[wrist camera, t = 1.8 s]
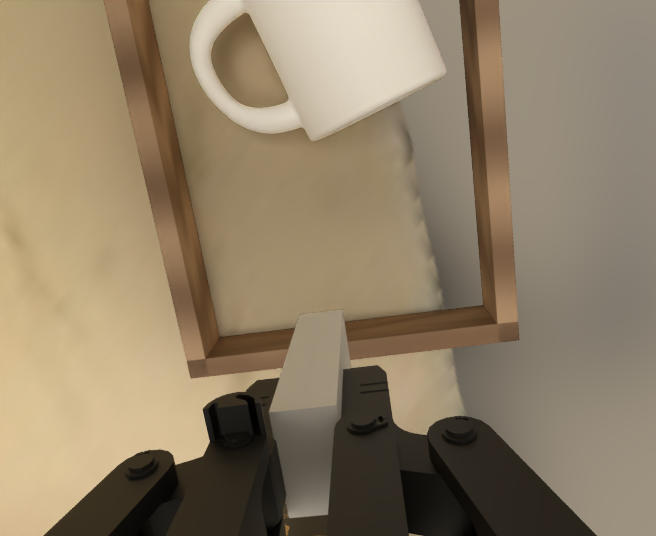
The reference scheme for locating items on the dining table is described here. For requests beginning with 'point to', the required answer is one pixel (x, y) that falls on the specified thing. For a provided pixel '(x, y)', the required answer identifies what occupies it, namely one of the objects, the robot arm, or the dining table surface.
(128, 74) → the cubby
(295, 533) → the jar
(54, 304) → the dining table surface
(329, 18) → the mug
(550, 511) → the robot arm
